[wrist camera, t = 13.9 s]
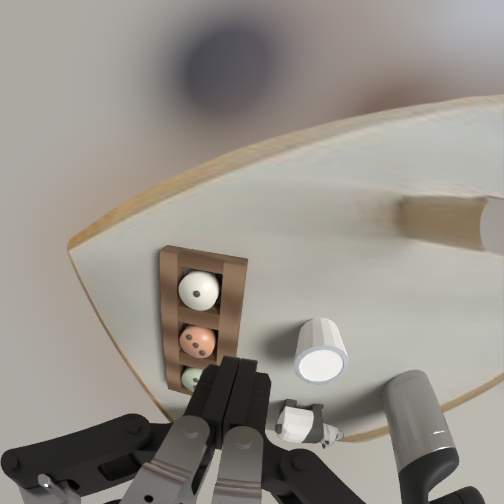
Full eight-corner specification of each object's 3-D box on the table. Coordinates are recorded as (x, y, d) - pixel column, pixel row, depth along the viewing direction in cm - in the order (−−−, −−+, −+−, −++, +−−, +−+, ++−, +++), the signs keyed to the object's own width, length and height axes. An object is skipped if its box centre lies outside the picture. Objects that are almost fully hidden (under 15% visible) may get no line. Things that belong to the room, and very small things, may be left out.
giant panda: (274, 410, 44) (269, 445, 37) (282, 396, 43) (278, 432, 35) (335, 420, 44) (337, 454, 36) (346, 407, 42) (350, 441, 34)
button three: (216, 352, 40) (211, 362, 37) (184, 344, 40) (179, 354, 38) (217, 326, 38) (213, 336, 36) (184, 318, 38) (178, 327, 36)
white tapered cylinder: (284, 333, 38) (281, 366, 31) (321, 304, 36) (326, 335, 29) (315, 359, 39) (316, 392, 32) (351, 333, 37) (359, 366, 30)
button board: (231, 394, 44) (228, 404, 42) (172, 379, 45) (168, 388, 43) (248, 258, 35) (244, 266, 33) (167, 245, 36) (159, 251, 34)
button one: (219, 305, 37) (214, 314, 34) (184, 298, 37) (178, 306, 35) (221, 272, 35) (216, 280, 33) (184, 265, 35) (178, 272, 33)
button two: (214, 387, 43) (210, 397, 40) (186, 380, 43) (181, 389, 41) (215, 367, 41) (211, 377, 39) (185, 360, 41) (180, 370, 39)
